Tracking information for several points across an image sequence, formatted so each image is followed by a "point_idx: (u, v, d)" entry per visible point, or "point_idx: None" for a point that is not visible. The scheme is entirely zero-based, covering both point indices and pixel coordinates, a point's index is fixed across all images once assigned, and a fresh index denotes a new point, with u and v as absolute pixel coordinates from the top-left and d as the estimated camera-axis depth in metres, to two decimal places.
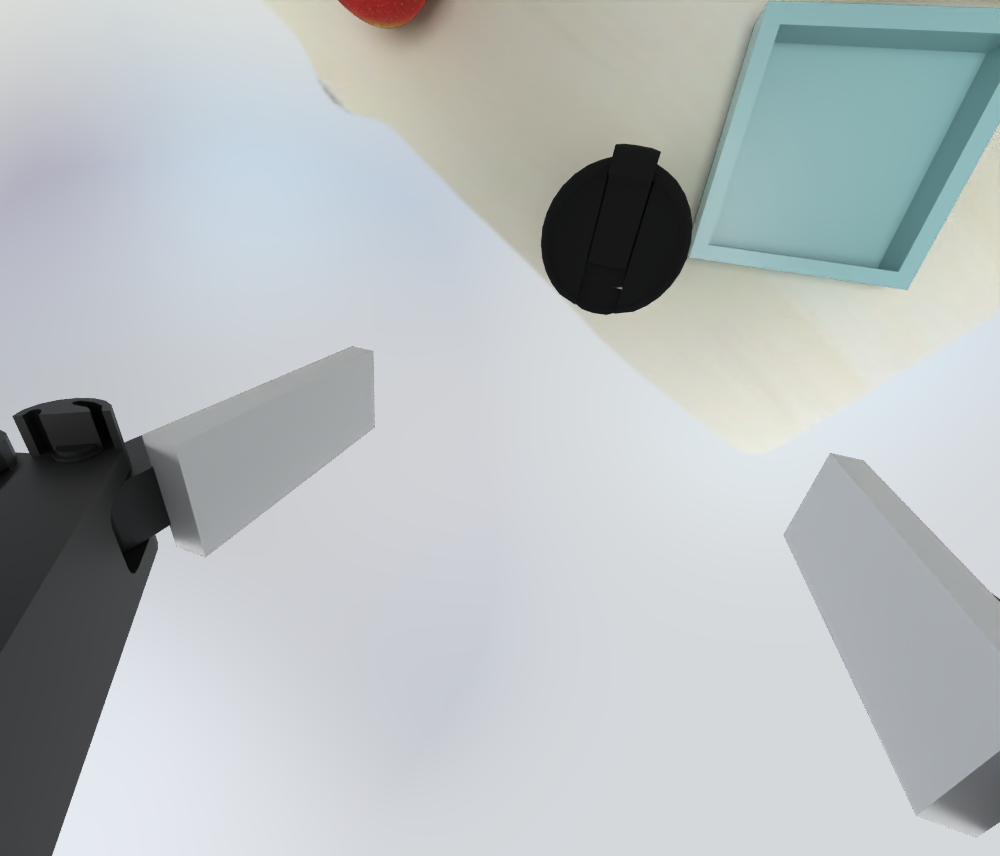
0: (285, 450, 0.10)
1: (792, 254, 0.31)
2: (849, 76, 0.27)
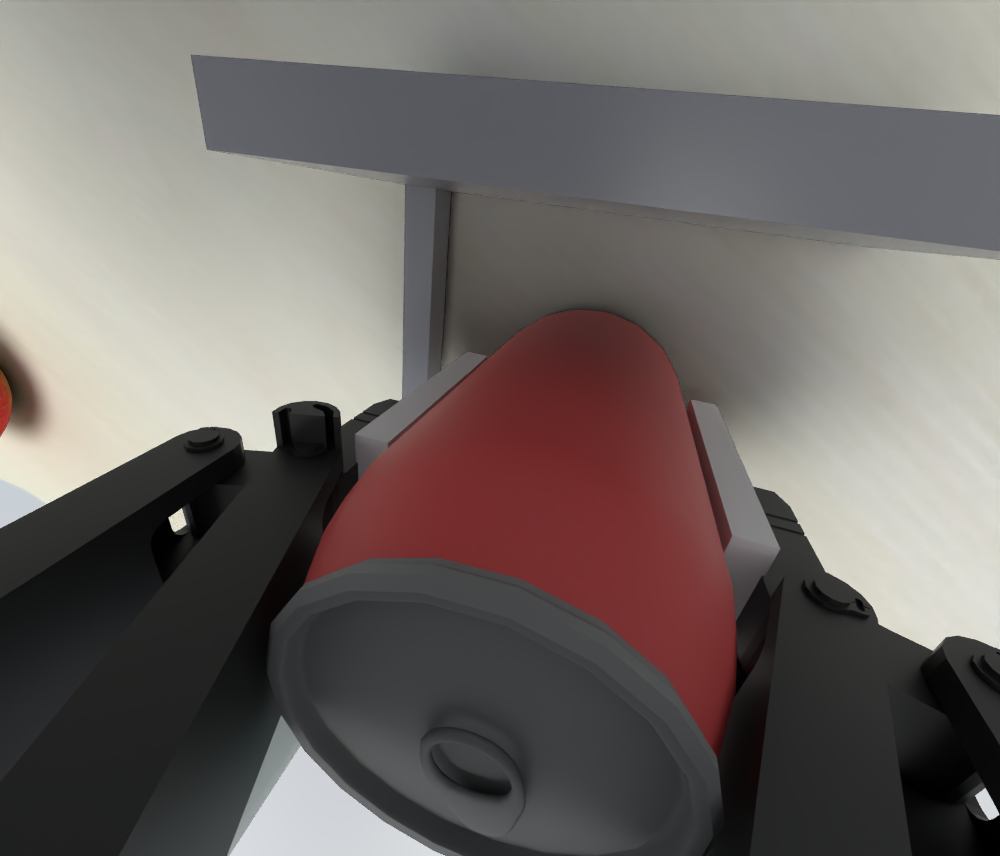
0: None
1: None
2: None
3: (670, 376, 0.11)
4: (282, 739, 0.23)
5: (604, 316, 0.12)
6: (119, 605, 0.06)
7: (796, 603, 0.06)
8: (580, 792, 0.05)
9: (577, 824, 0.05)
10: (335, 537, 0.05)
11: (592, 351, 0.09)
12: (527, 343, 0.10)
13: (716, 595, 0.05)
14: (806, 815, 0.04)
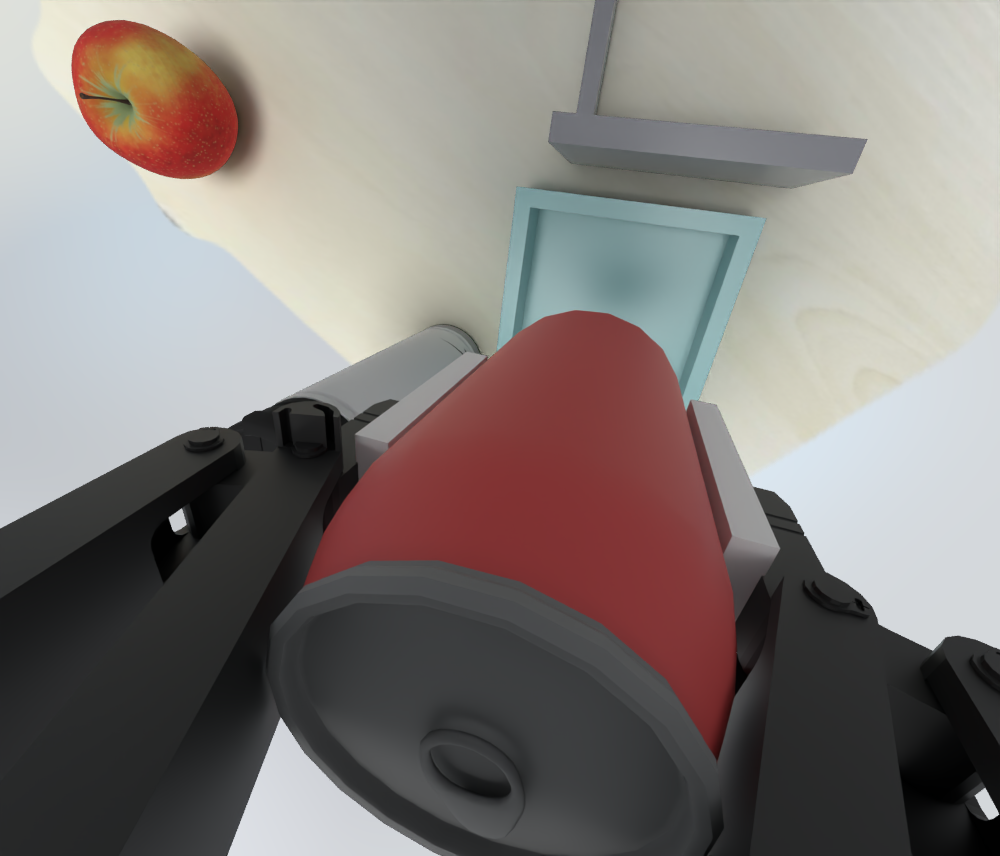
0: None
1: None
2: (615, 244, 0.28)
3: (670, 377, 0.11)
4: None
5: (604, 317, 0.12)
6: (119, 605, 0.06)
7: (796, 603, 0.06)
8: (580, 794, 0.05)
9: (577, 826, 0.05)
10: (335, 539, 0.05)
11: (591, 352, 0.09)
12: (527, 344, 0.10)
13: (716, 597, 0.05)
14: (806, 815, 0.04)
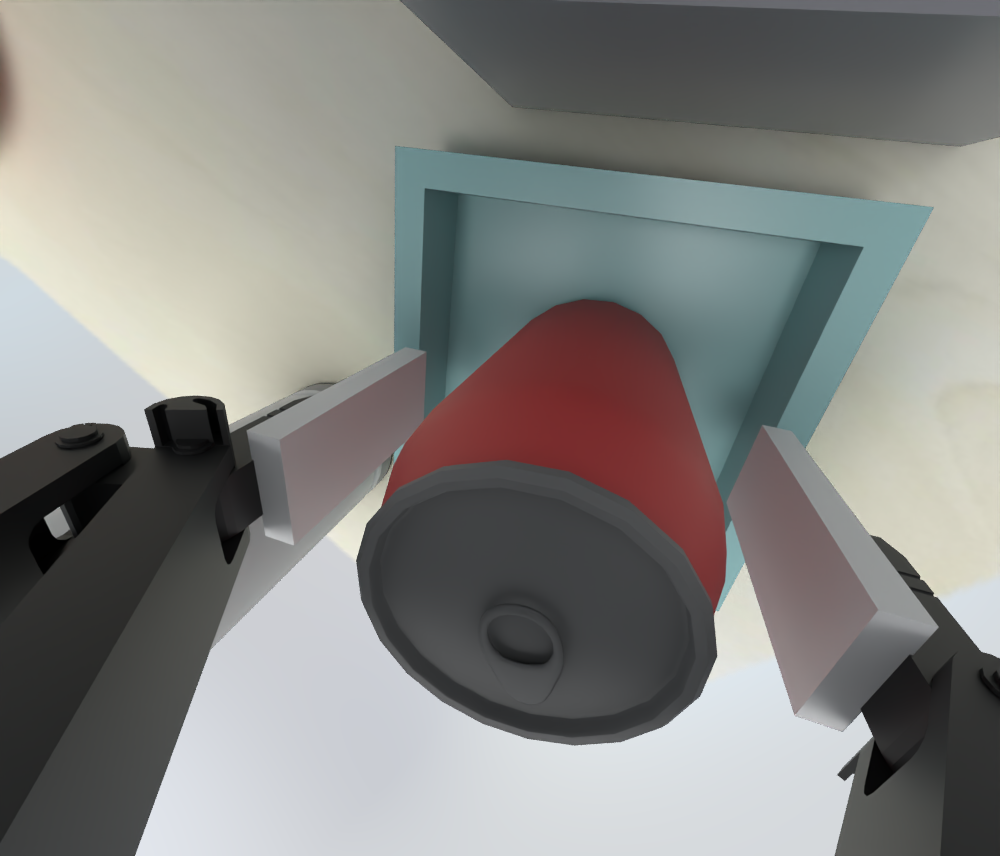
0: (357, 446, 0.11)
1: None
2: (597, 259, 0.15)
3: (669, 356, 0.13)
4: None
5: (610, 305, 0.14)
6: None
7: (972, 695, 0.05)
8: (606, 654, 0.07)
9: (602, 686, 0.07)
10: (413, 460, 0.07)
11: (603, 329, 0.11)
12: (545, 325, 0.12)
13: (710, 501, 0.07)
14: None
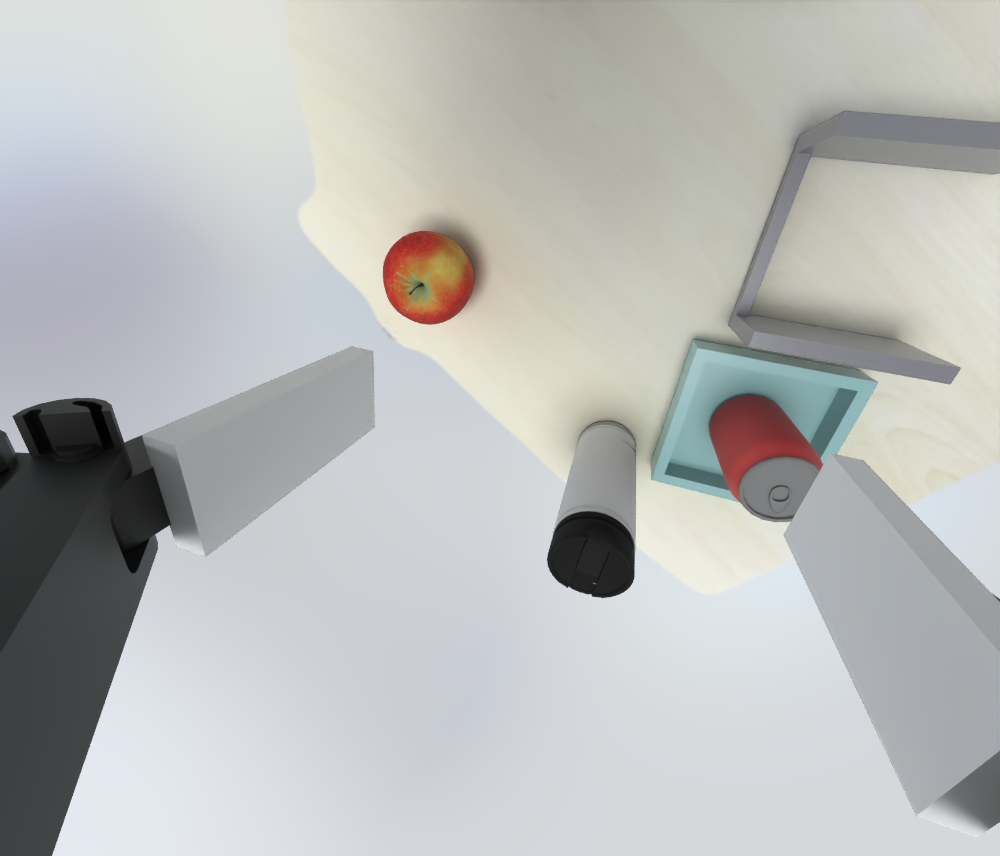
0: (285, 450, 0.10)
1: None
2: (757, 379, 0.39)
3: None
4: (635, 465, 0.41)
5: (765, 399, 0.38)
6: None
7: None
8: (800, 497, 0.31)
9: (797, 506, 0.31)
10: (756, 456, 0.31)
11: (778, 416, 0.35)
12: (753, 412, 0.36)
13: (822, 465, 0.31)
14: None
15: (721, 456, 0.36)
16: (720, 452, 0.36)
